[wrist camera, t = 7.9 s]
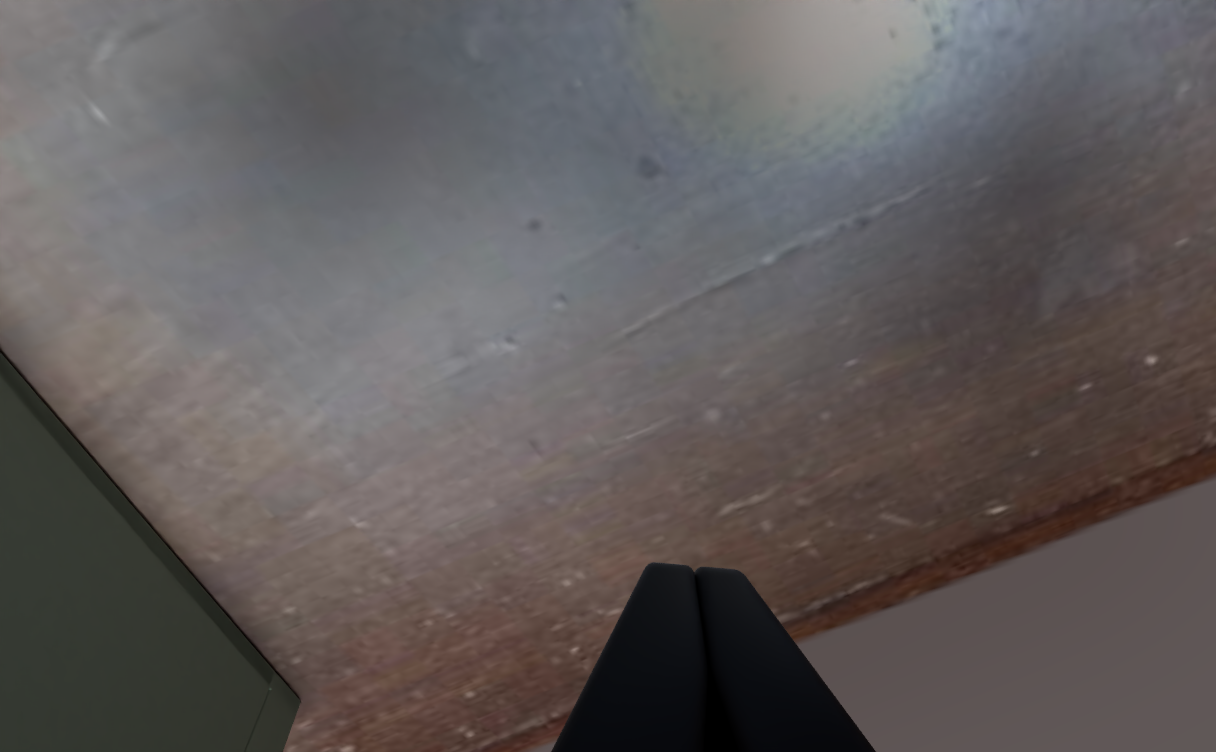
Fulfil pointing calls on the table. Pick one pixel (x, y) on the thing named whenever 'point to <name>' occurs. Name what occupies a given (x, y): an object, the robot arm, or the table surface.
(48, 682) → the storage box
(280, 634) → the table surface
